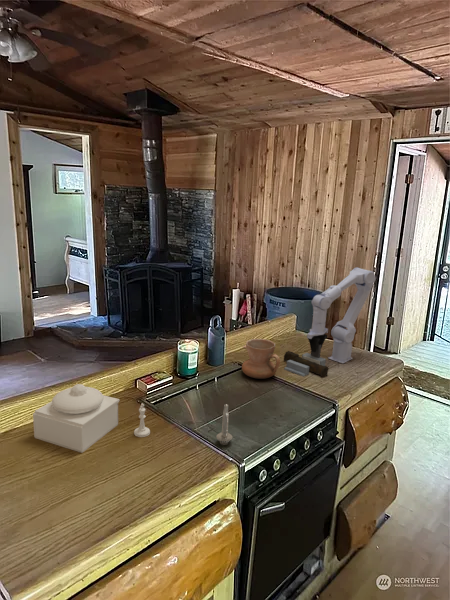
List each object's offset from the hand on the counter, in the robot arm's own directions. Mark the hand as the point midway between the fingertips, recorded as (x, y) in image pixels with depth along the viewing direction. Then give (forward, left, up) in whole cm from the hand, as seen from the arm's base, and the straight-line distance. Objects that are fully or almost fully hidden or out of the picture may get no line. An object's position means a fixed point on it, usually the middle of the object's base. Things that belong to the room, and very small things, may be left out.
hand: (315, 350), depth 199 cm
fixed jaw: (+14, 0, -6) cm, 15 cm away
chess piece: (+93, -4, -6) cm, 93 cm away
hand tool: (+9, 0, -7) cm, 12 cm away
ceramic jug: (+30, -8, -7) cm, 32 cm away
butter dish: (+107, -18, -7) cm, 109 cm away
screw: (+78, +17, -6) cm, 80 cm away
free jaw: (+1, 0, -6) cm, 6 cm away
